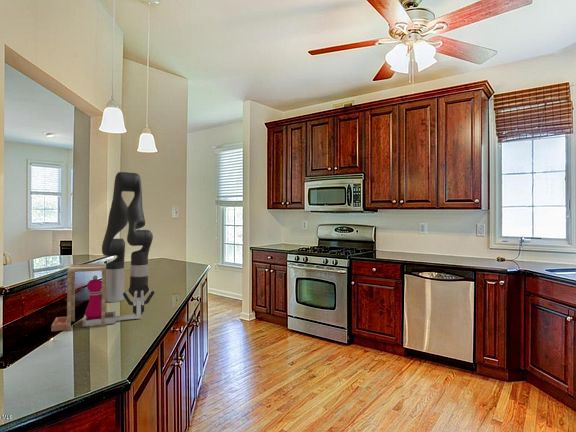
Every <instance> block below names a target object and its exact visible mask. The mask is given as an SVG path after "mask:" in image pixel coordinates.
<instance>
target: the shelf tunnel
mask: <svg viewBox="0 0 576 432" xmlns="http://www.w3.org/2000/svg"><path fill="white" fill-rule="evenodd" d="M106 263H107V262H106ZM106 263H105V262H103V263H102V262H101V263H85V264H84V263H83V264H81V263H80V264H71V265H70V266H69V267H68V268H67V280H66V281H67V284H66V287H67V288H66V289H67V290H66V291H67V292H66V294H67V295H66V297H67V299H66V300H67V301H66V306H67V307H66V317H67V329H66V331H67V332H68V331H71V330H72V327H71V326H72V322H75V321H76V318H75V315H76V314H75V313H76V312H75V311H76V310H75V309H76V308H75V307H76V301H75V300H76V298H75V297H76V277H75V276H76V273H81V272H84V273H85V272H99V271H100V272H101V281H102V289H101V293H102V294H101V303H102V307H101V325H100V326H101V328H104V327H105V325H106V324H105V312H107V307H106V306H107V305H106V304H107V302H106Z"/></svg>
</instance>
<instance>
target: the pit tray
mask: <svg viewBox="0 0 576 432" xmlns="http://www.w3.org/2000/svg"><path fill="white" fill-rule="evenodd" d="M50 326H51V327H50V328H51V332H59V331H67V316H59V317H58V316H57V317H55V319H54V320H53V322H52V324H51V325H50Z"/></svg>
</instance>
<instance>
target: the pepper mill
mask: <svg viewBox="0 0 576 432" xmlns="http://www.w3.org/2000/svg"><path fill="white" fill-rule="evenodd" d="M86 288H87V290H88V294H87V295H88V296H89V298H88V300H89V301H88V304H87V306H86V308H85V313H84V315H85V316H86V317H87V318H88V319H87V320H91V319H101V307H102V279H98V276H97V275H94V276H92V279H91V280H89V281H88V282H87V284H86Z"/></svg>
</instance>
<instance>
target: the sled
mask: <svg viewBox="0 0 576 432" xmlns="http://www.w3.org/2000/svg"><path fill="white" fill-rule="evenodd" d="M87 319H88V318H87V317H86V316H85V314H84V315H83V318H82V327H83V328H85V327H94V326H101V319H91V320H87ZM135 319H136V320H139V319H142V314H141V298H137V300H136V314H134V313H133V314H125V315H117V314H116V311H106V312H105V325H113V324H116V322H117V321H125V320H135Z"/></svg>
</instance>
